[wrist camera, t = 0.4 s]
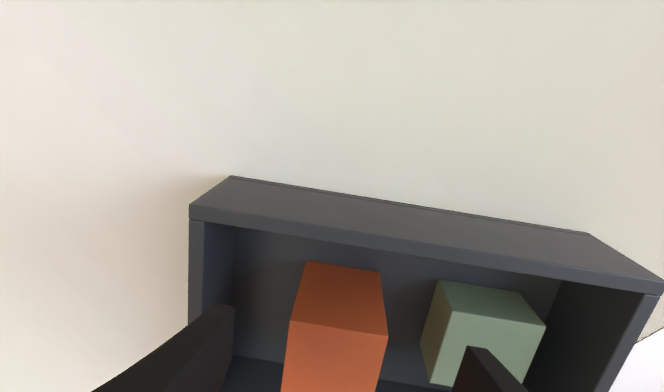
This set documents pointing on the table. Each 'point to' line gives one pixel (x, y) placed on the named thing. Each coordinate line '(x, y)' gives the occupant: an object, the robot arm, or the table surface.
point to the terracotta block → (335, 331)
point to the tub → (409, 280)
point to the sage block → (478, 329)
